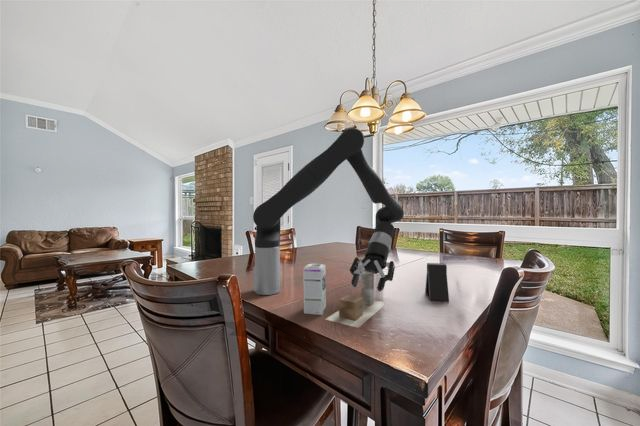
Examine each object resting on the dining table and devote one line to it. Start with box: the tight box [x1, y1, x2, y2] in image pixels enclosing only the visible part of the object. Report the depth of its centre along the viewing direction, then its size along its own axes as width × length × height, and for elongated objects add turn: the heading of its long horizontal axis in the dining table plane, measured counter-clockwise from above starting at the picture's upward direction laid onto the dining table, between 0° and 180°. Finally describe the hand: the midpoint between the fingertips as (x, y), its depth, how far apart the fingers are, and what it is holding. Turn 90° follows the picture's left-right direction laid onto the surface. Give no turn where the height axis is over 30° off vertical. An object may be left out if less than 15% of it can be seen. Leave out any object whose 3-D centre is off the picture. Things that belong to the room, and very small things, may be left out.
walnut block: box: [338, 294, 363, 321], centre depth 77 cm, size 5×5×5 cm
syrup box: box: [302, 263, 327, 316], centre depth 81 cm, size 6×6×14 cm
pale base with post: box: [324, 271, 387, 329], centre depth 81 cm, size 10×22×11 cm, turn 147°
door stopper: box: [424, 262, 450, 302], centre depth 96 cm, size 9×6×12 cm, turn 169°
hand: (366, 288), depth 86 cm, fingers open, 8 cm apart
